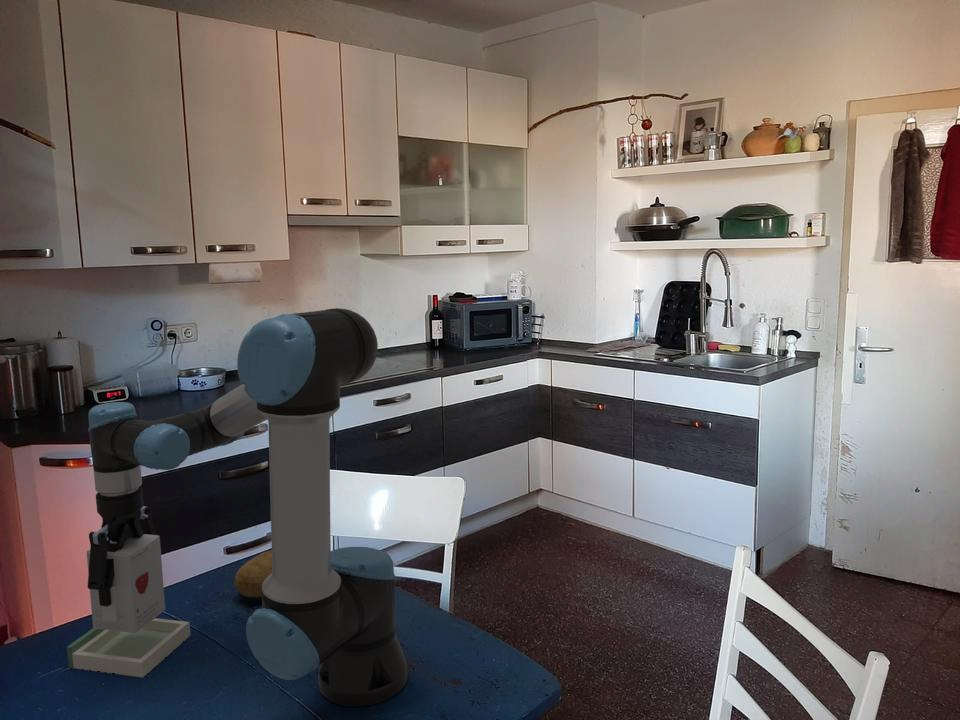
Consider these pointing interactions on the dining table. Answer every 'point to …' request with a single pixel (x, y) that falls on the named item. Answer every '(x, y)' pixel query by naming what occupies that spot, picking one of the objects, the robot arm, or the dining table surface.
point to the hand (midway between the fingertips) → (129, 606)
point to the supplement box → (133, 585)
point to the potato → (254, 575)
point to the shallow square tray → (127, 648)
